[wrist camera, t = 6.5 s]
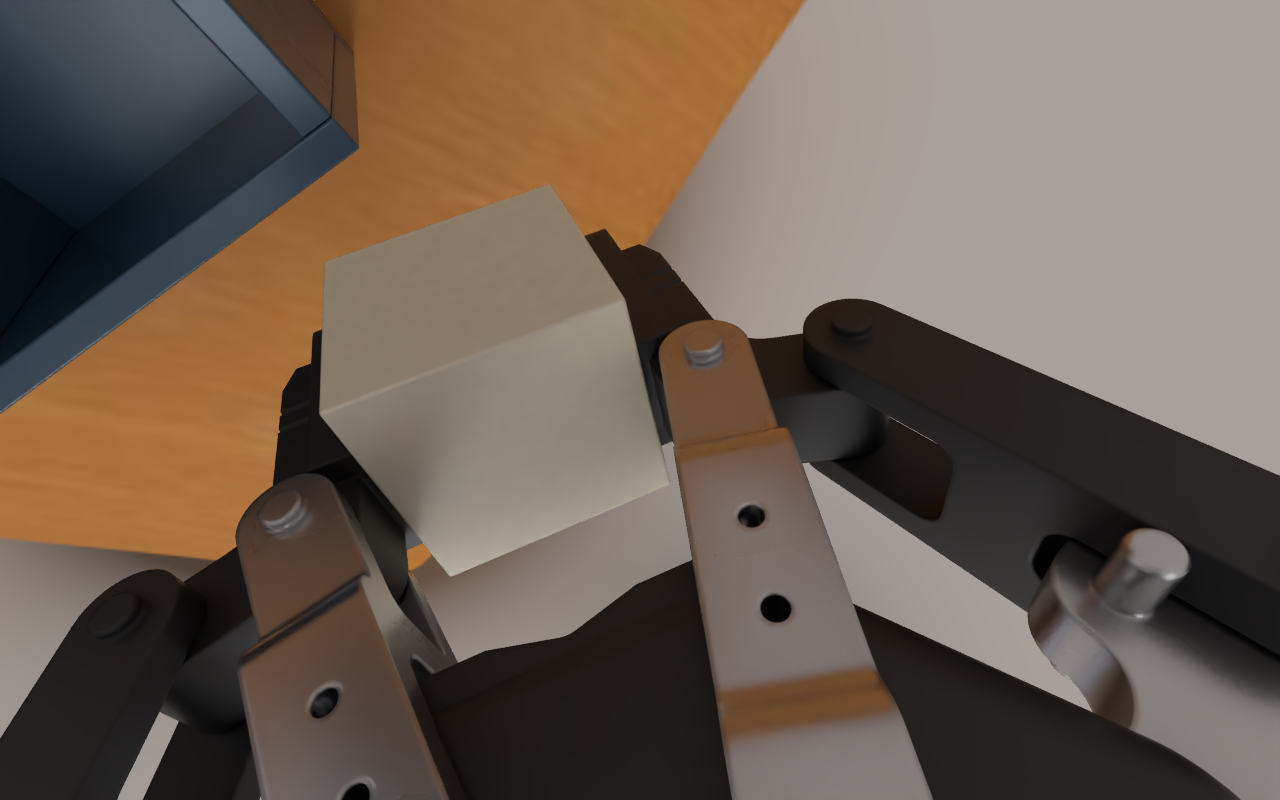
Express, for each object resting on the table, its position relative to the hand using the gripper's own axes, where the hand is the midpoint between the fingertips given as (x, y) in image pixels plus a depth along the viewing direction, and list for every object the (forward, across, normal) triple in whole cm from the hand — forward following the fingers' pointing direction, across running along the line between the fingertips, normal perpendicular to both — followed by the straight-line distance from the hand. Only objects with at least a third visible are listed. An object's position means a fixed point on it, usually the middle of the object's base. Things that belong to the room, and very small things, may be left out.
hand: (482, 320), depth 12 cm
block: (0, 0, 0) cm, 0 cm away
